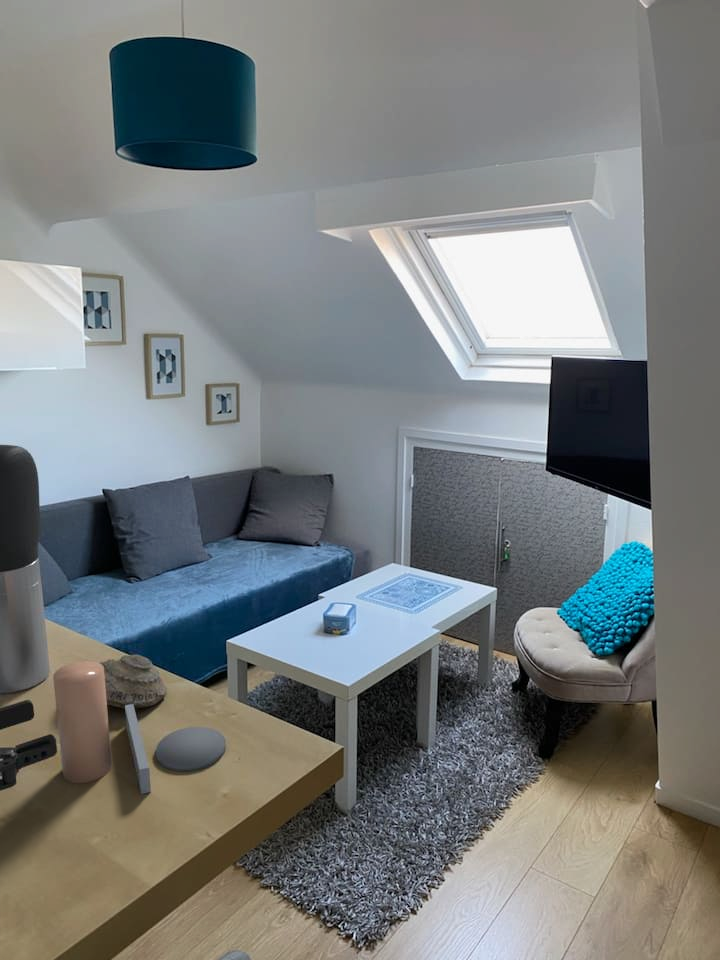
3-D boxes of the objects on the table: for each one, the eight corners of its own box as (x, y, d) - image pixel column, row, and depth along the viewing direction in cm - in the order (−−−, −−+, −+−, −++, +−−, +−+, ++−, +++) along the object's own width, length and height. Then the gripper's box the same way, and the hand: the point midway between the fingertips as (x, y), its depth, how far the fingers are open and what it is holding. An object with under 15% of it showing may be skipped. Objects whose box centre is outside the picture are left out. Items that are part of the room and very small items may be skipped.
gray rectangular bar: (126, 727, 92) (124, 705, 91) (134, 725, 92) (133, 703, 91) (141, 794, 79) (139, 769, 78) (150, 792, 79) (149, 767, 79)
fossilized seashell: (134, 716, 91) (120, 661, 91) (66, 731, 94) (53, 677, 95) (180, 690, 101) (167, 641, 101) (118, 704, 104) (106, 656, 105)
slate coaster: (151, 739, 89) (151, 735, 89) (217, 725, 92) (217, 721, 92) (162, 777, 82) (161, 773, 82) (233, 760, 85) (232, 756, 85)
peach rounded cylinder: (61, 761, 85) (52, 666, 82) (109, 750, 87) (101, 657, 84) (63, 788, 80) (54, 688, 77) (113, 776, 82) (106, 678, 79)
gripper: (-134, 787, 63) (61, 723, 73) (-149, 715, 74) (22, 668, 84) (-121, 861, 65) (67, 789, 75) (-138, 781, 76) (29, 727, 86)
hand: (43, 725), depth 79 cm, fingers open, 8 cm apart
